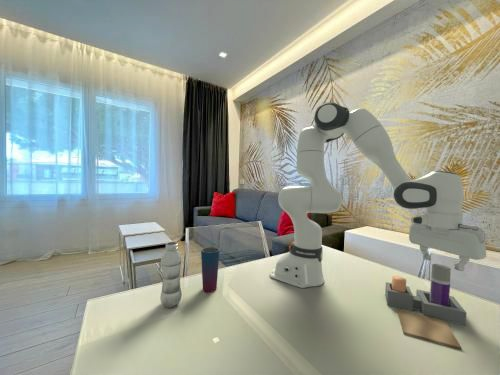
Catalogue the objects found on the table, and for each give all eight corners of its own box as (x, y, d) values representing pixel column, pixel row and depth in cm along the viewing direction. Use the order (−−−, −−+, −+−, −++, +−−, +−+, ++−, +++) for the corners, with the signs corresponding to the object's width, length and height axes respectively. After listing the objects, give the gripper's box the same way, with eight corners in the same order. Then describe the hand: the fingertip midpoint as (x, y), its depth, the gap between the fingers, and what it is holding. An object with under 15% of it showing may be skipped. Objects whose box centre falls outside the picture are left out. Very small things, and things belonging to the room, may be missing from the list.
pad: (403, 333, 61) (403, 331, 61) (397, 311, 72) (397, 309, 71) (461, 349, 55) (461, 347, 55) (444, 322, 66) (445, 320, 66)
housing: (387, 307, 74) (388, 292, 73) (384, 293, 82) (385, 280, 82) (465, 325, 65) (466, 309, 65) (452, 308, 74) (453, 293, 74)
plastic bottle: (186, 301, 74) (186, 242, 73) (170, 312, 68) (171, 248, 67) (171, 296, 77) (172, 239, 76) (155, 306, 70) (156, 244, 70)
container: (451, 317, 69) (454, 270, 68) (434, 315, 70) (437, 268, 69) (442, 308, 73) (444, 264, 73) (426, 306, 74) (428, 262, 74)
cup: (196, 291, 81) (197, 250, 80) (207, 283, 87) (207, 245, 86) (212, 295, 78) (213, 253, 77) (222, 287, 84) (223, 248, 84)
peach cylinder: (391, 302, 76) (393, 279, 75) (390, 297, 79) (391, 275, 79) (406, 305, 74) (407, 282, 73) (404, 299, 77) (405, 277, 77)
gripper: (493, 227, 62) (491, 276, 62) (419, 217, 82) (418, 254, 82) (477, 227, 60) (475, 278, 60) (406, 217, 80) (405, 255, 80)
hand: (442, 264), depth 71 cm, fingers open, 8 cm apart
